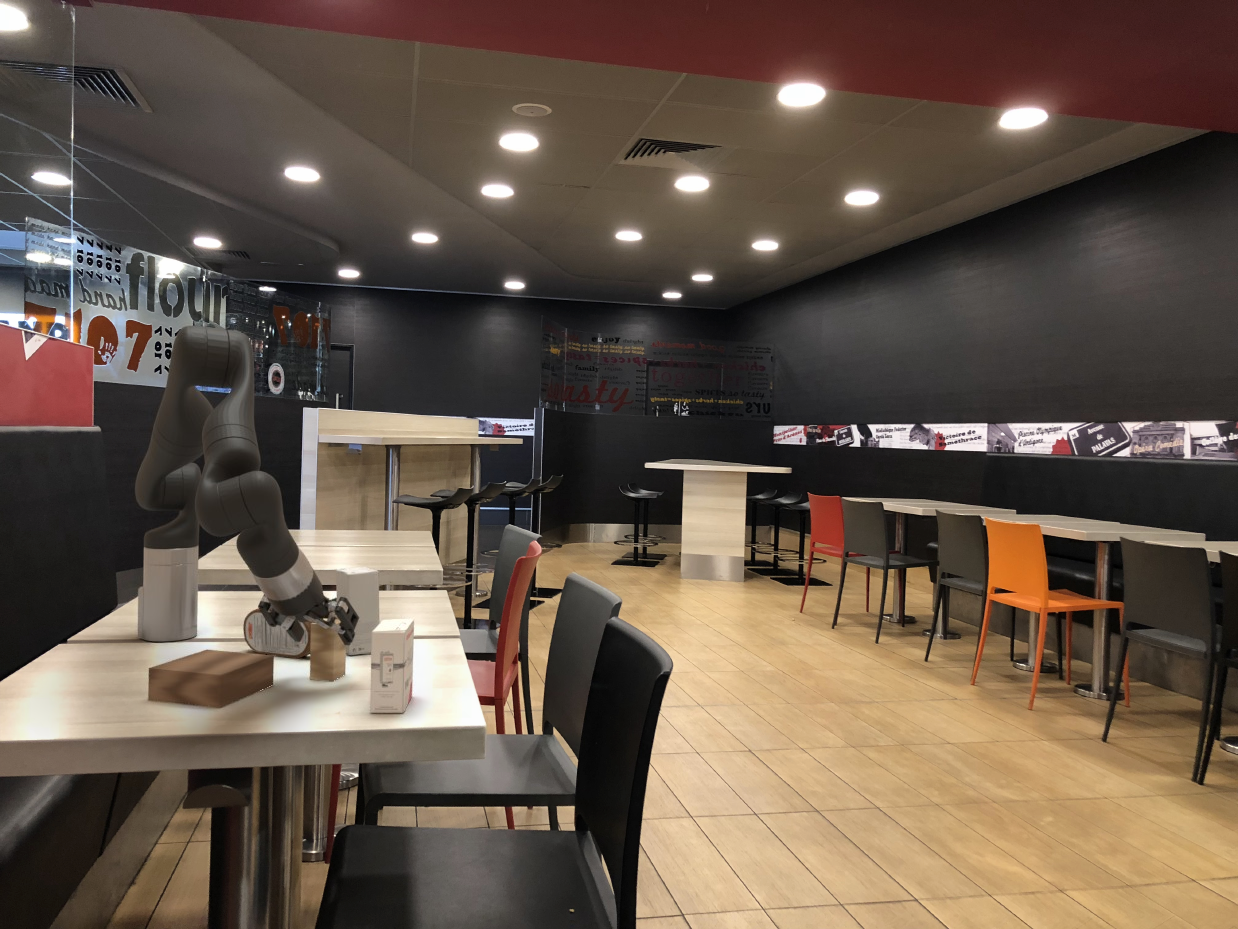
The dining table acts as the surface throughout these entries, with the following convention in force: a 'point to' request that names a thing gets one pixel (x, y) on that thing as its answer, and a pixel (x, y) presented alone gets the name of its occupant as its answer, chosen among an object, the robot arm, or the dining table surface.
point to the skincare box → (360, 604)
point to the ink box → (392, 666)
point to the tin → (274, 637)
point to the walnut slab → (210, 678)
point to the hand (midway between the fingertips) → (324, 638)
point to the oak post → (326, 653)
